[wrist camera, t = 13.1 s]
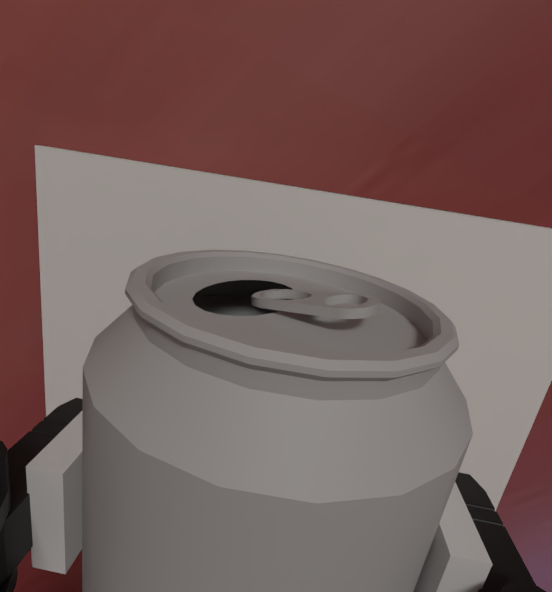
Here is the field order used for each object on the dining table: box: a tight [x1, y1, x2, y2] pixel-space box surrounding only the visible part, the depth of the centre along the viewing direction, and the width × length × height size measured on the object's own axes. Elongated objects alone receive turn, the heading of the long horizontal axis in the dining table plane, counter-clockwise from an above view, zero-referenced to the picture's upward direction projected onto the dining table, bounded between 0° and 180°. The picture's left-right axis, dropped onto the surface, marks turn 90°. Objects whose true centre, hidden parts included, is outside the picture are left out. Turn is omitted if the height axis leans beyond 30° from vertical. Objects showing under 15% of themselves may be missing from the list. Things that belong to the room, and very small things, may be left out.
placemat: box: [35, 145, 552, 511], centre depth 16 cm, size 20×14×1 cm
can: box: [82, 250, 473, 592], centre depth 9 cm, size 8×8×12 cm
